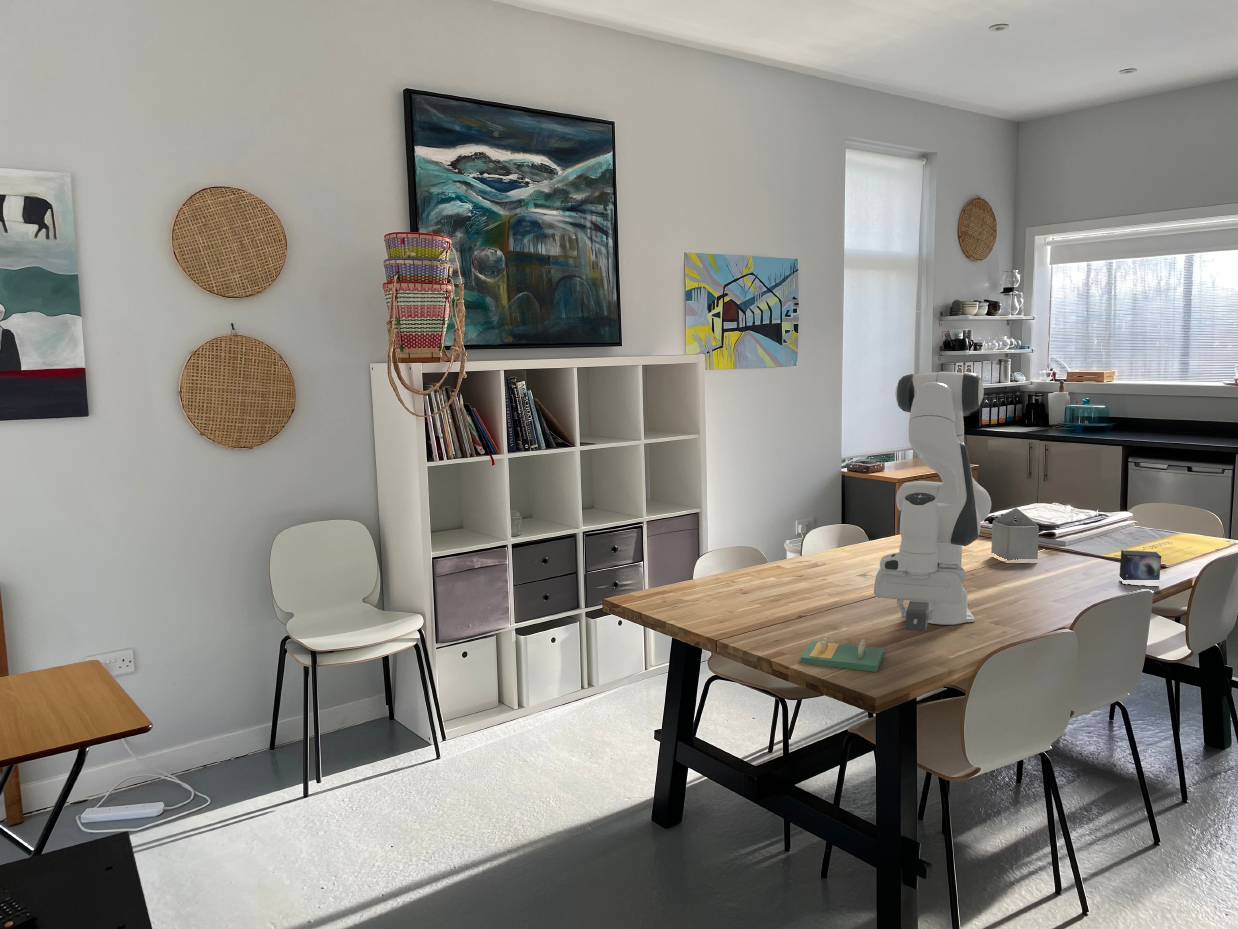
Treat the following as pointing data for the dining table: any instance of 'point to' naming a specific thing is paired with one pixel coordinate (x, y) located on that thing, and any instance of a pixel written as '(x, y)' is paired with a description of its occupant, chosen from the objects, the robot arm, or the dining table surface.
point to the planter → (1015, 536)
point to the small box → (1140, 565)
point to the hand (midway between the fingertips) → (917, 618)
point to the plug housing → (917, 616)
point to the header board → (843, 655)
